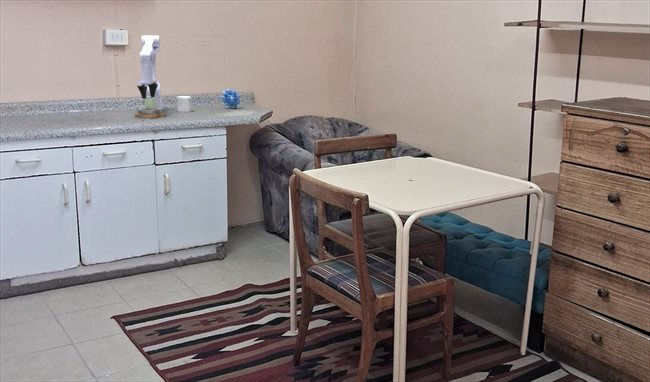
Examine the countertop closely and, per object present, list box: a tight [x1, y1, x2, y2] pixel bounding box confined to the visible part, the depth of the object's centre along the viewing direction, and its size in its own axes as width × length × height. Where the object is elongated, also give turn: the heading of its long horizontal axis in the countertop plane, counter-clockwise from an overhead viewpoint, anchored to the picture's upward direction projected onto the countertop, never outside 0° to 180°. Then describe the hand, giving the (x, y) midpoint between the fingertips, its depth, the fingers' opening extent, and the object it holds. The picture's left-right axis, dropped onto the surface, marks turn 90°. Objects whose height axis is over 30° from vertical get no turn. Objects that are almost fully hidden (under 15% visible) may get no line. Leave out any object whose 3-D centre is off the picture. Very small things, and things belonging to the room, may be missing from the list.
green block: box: [144, 98, 157, 110], centre depth 399 cm, size 4×4×6 cm
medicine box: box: [175, 95, 193, 113], centre depth 424 cm, size 8×4×9 cm, turn 84°
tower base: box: [134, 112, 167, 120], centre depth 401 cm, size 12×12×2 cm
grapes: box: [221, 88, 241, 109], centre depth 438 cm, size 12×7×12 cm, turn 114°
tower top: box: [137, 107, 165, 115], centre depth 400 cm, size 10×10×2 cm
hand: (148, 97), depth 399 cm, fingers open, 7 cm apart
